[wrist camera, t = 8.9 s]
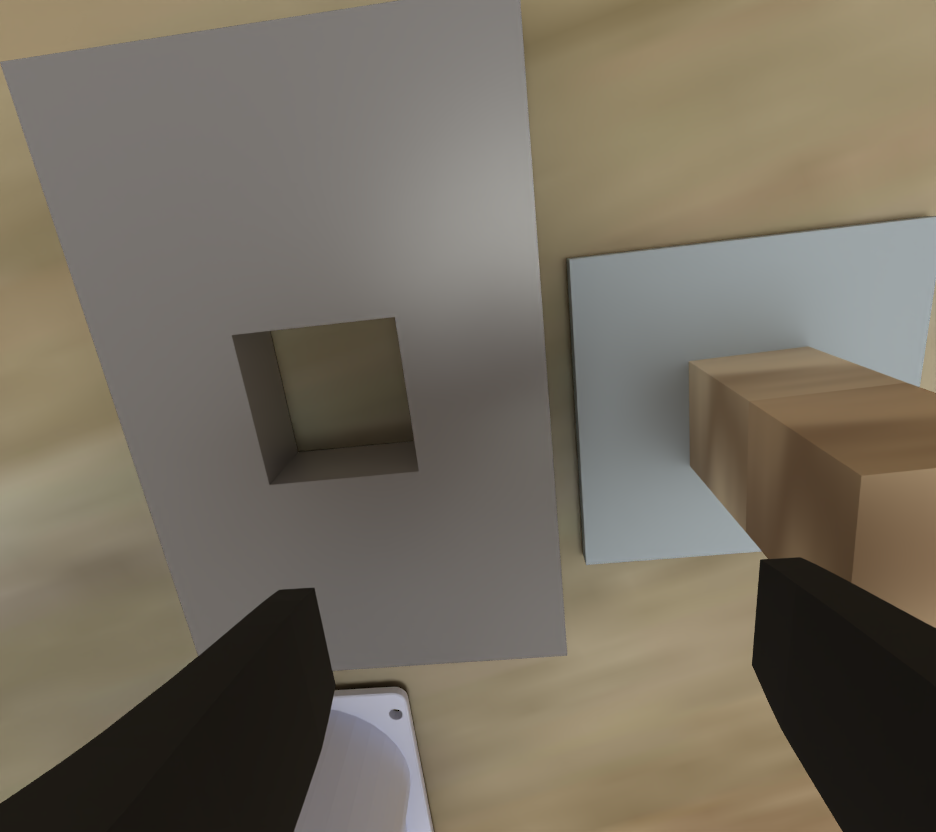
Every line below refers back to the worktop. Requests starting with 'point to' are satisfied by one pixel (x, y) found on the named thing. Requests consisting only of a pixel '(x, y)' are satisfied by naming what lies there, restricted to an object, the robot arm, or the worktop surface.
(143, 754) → the robot arm
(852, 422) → the plug
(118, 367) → the grey flat plate
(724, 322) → the mat
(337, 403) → the worktop surface
